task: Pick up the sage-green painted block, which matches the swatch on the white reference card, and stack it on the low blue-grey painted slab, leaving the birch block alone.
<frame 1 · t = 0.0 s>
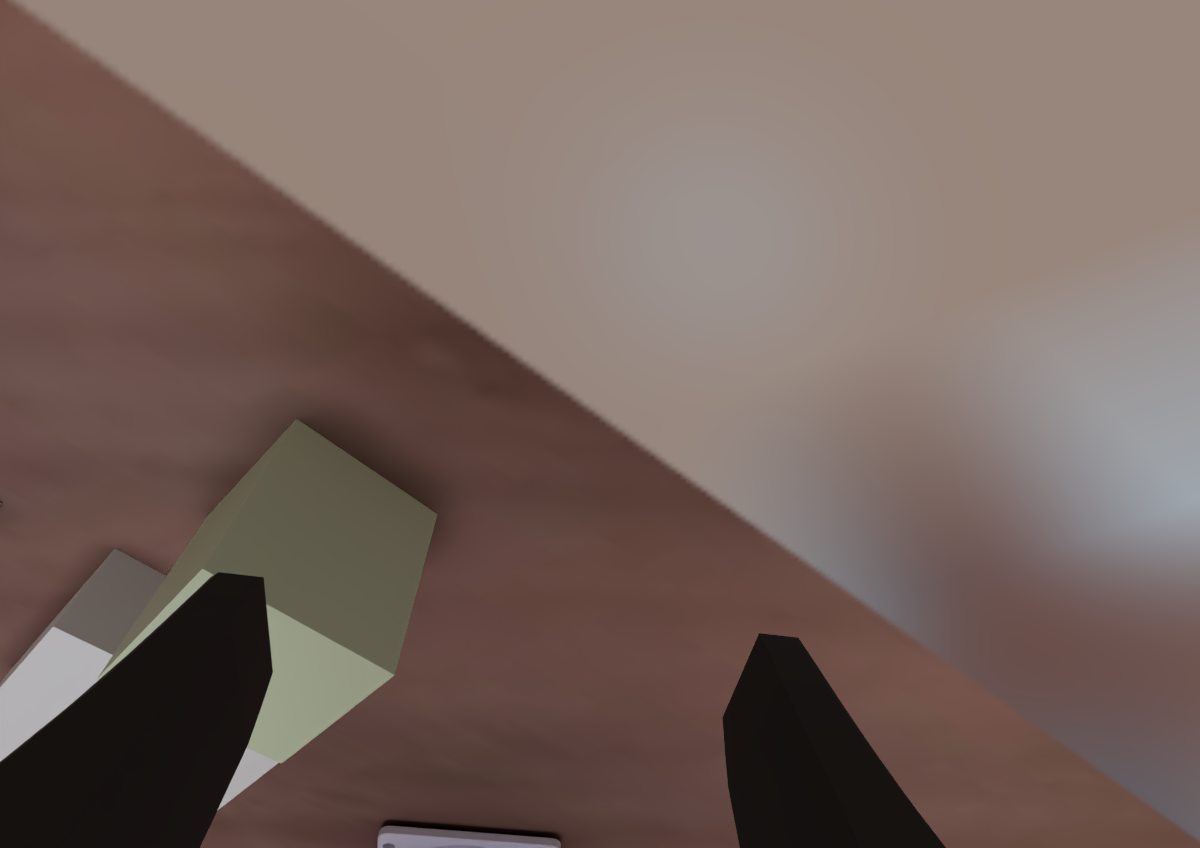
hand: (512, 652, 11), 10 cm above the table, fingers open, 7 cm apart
sage block: (322, 514, 22), on the table
slate base: (175, 658, 26), on the table
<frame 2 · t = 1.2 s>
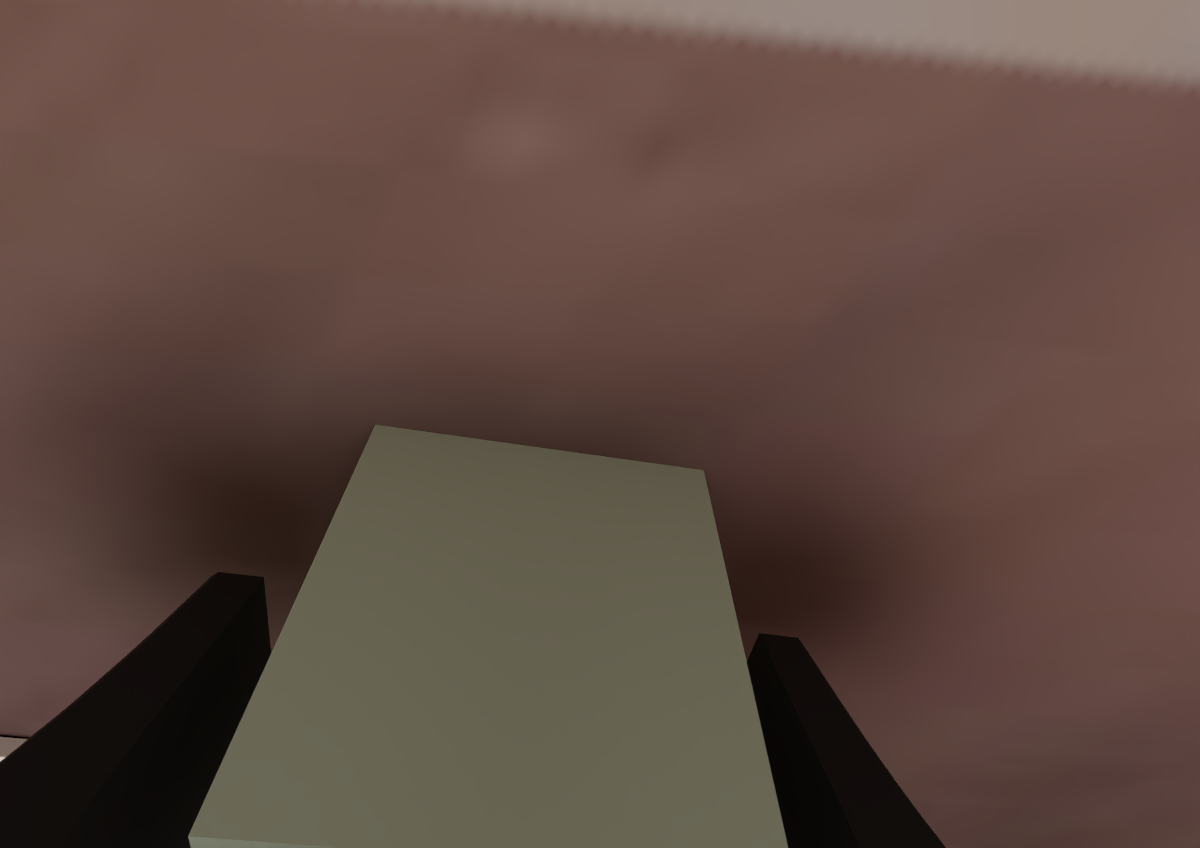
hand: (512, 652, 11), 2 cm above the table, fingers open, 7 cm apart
sage block: (523, 565, 12), on the table
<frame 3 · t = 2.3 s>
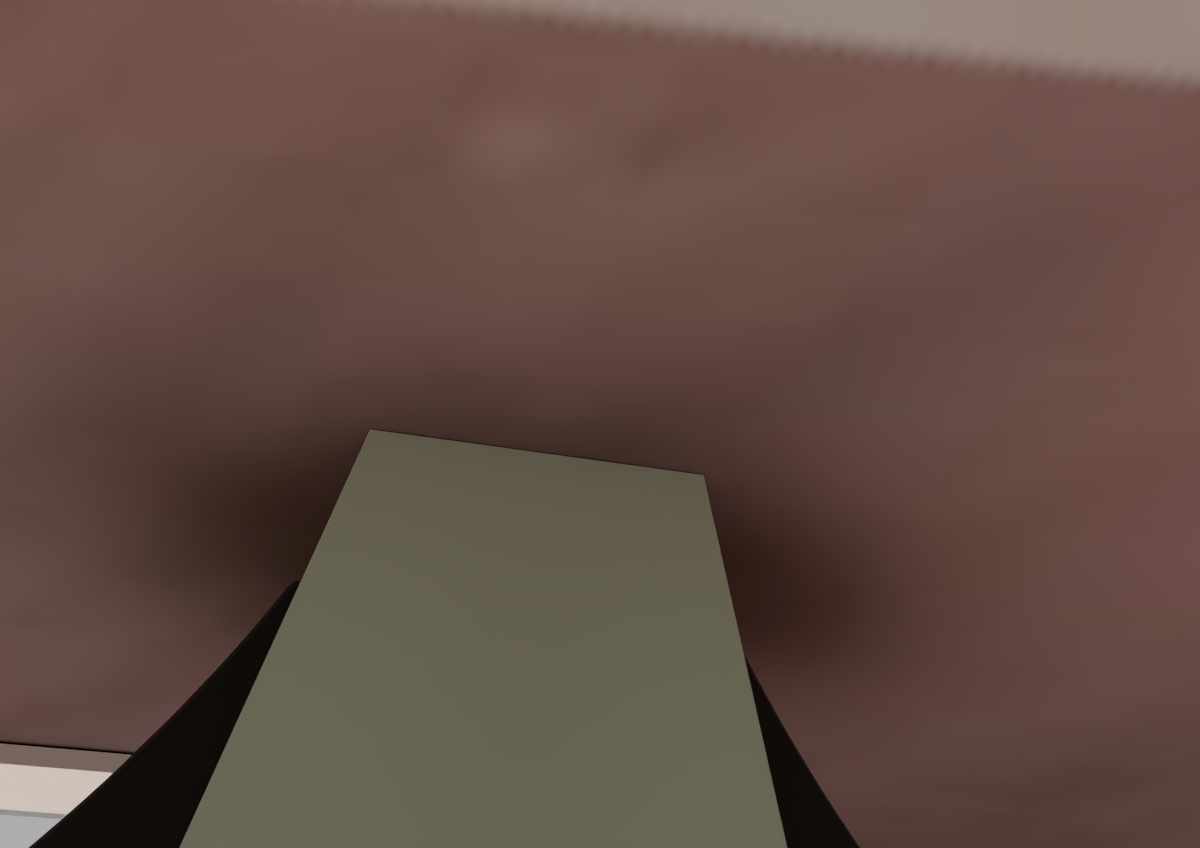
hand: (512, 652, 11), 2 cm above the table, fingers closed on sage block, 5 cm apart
sage block: (520, 573, 12), on the table, touching gripper
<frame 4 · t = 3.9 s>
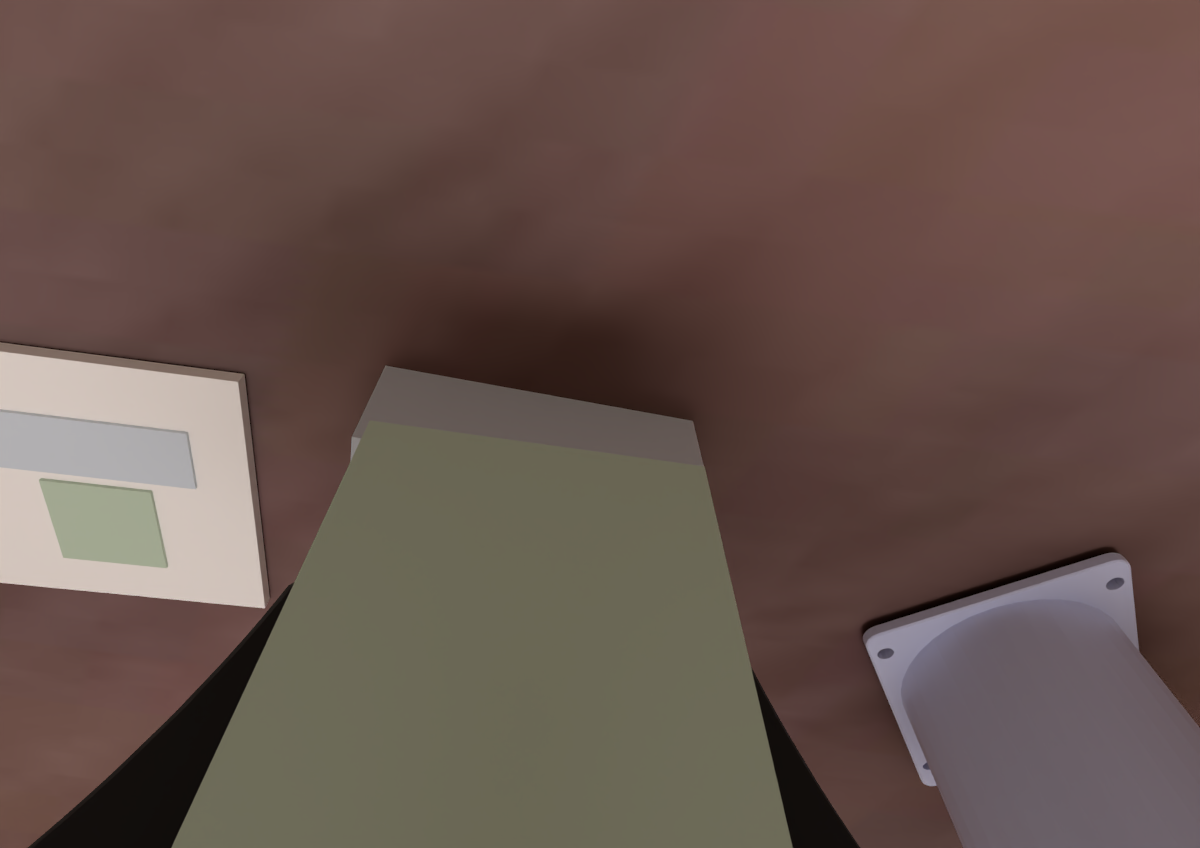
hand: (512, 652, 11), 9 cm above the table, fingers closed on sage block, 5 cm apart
reference card: (106, 481, 20), on the table
sage block: (521, 566, 12), point 7 cm above the table, touching gripper
slate base: (519, 504, 21), on the table
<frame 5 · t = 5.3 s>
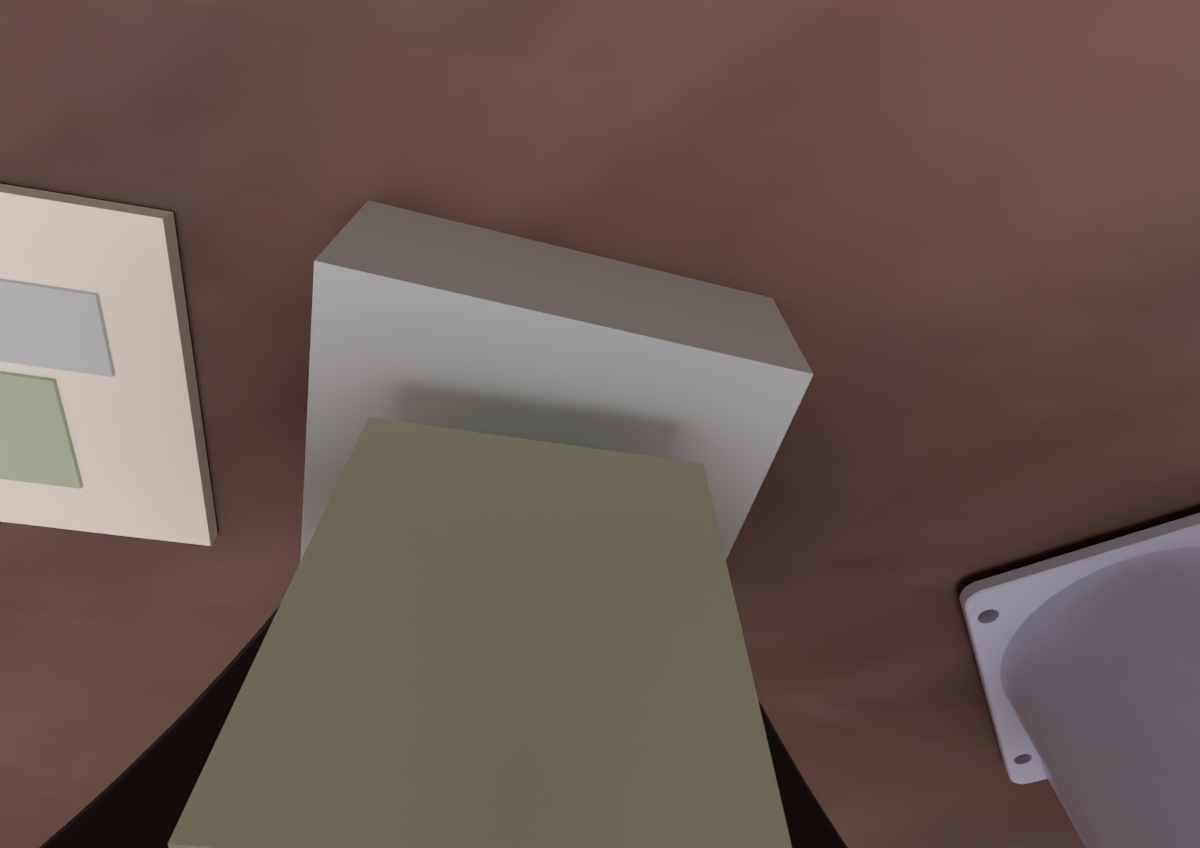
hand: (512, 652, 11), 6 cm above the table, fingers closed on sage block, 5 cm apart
sage block: (520, 563, 12), point 5 cm above the table, touching gripper
slate base: (537, 412, 16), on the table
when the fingers open (6 cm above the table, at t = 5.7 s): sage block drops 2 cm, resting on slate base.
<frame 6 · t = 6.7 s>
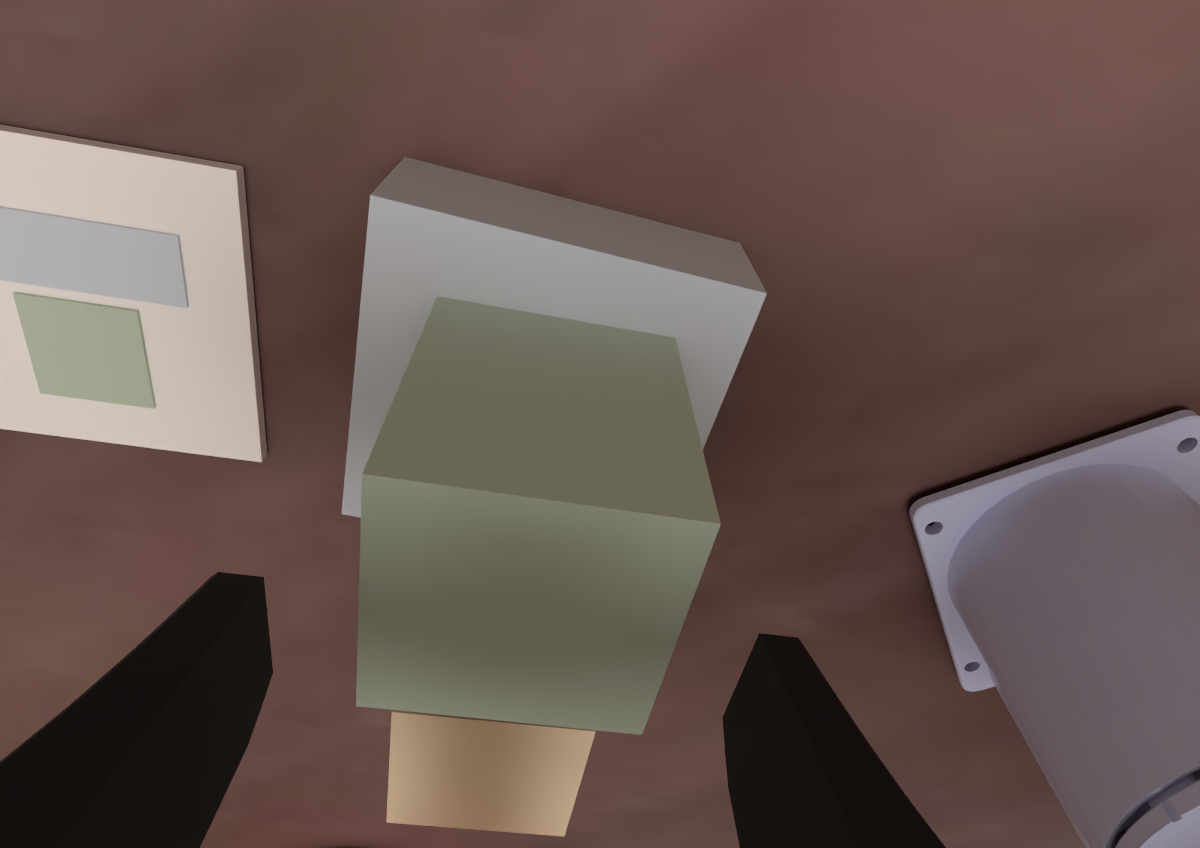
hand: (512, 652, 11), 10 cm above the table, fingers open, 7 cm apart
reference card: (88, 301, 18), on the table
birch block: (505, 607, 24), on the table
sage block: (540, 417, 16), point 3 cm above the table, touching slate base
slate base: (542, 343, 19), on the table, touching sage block
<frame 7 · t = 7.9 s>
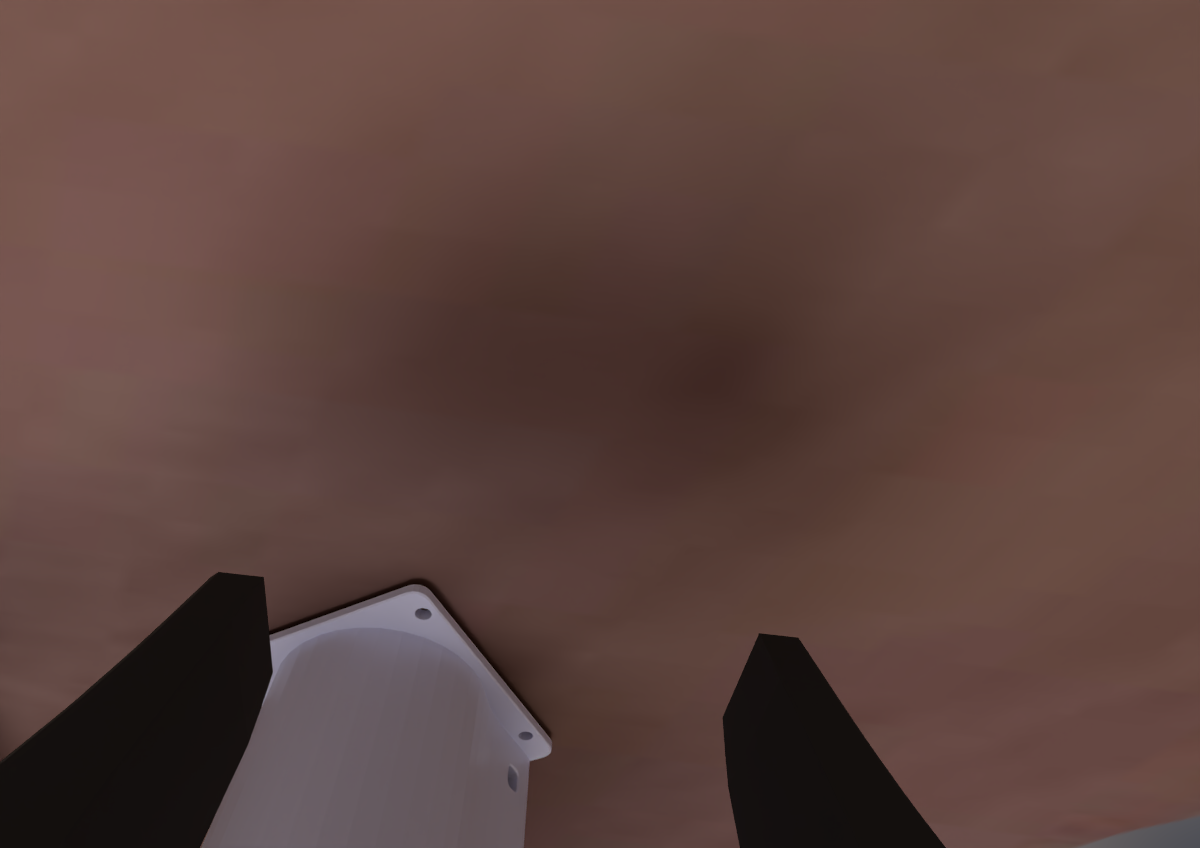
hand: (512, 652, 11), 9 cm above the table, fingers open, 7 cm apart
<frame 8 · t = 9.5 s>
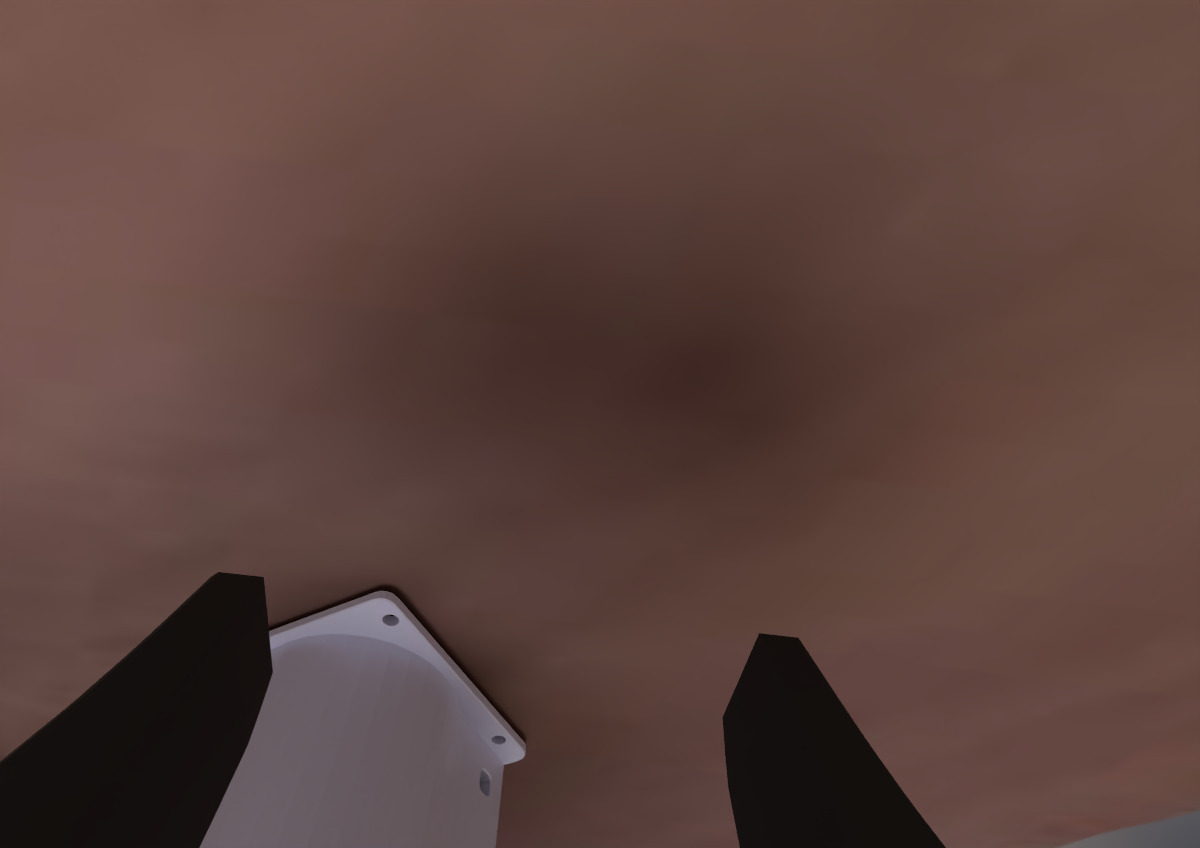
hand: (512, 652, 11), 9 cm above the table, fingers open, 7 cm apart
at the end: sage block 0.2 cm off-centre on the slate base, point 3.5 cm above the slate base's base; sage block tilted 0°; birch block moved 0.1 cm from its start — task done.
